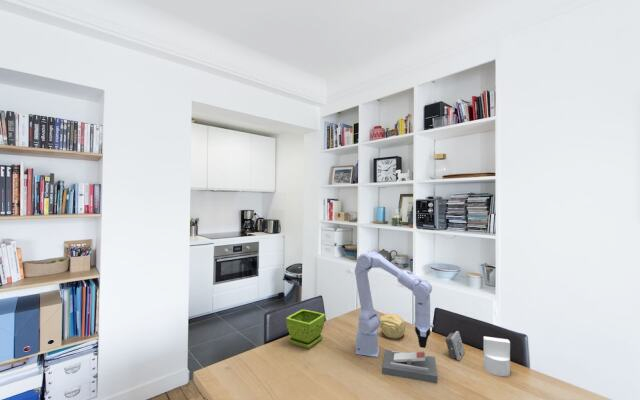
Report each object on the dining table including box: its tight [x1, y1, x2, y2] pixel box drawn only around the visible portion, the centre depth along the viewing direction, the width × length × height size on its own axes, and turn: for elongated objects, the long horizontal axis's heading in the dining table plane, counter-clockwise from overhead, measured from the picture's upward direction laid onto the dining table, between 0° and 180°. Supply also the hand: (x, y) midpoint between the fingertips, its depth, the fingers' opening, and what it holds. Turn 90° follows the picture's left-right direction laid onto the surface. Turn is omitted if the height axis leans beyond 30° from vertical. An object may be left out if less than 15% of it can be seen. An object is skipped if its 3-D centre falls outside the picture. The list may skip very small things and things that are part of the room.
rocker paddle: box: [394, 351, 426, 362], centre depth 119 cm, size 12×5×1 cm, turn 73°
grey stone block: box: [445, 330, 466, 362], centre depth 129 cm, size 9×5×9 cm, turn 141°
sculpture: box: [379, 313, 406, 340], centre depth 147 cm, size 11×12×11 cm
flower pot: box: [285, 308, 326, 349], centre depth 140 cm, size 14×14×13 cm
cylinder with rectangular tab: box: [483, 335, 511, 378], centre depth 118 cm, size 9×9×12 cm
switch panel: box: [381, 349, 439, 384], centre depth 119 cm, size 20×14×5 cm
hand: (422, 346), depth 117 cm, fingers closed
